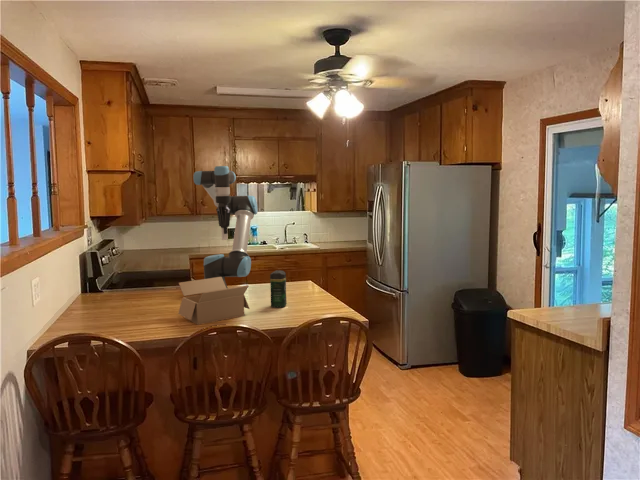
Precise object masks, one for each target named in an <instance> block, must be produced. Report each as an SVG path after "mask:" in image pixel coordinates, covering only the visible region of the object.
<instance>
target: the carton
mask: <svg viewBox="0 0 640 480" xmlns="http://www.w3.org/2000/svg"><path fill="white" fill-rule="evenodd" d="M201 296H202V294H196V295H190V296H183V297H182V299H181V301H180V306H179V309H178V313H177V314H178V315H180V316H182V317H184V318H185V320H188V321H190V322H192V323H194V324H196V325H198V326H199V325H203V324H208V323H214V322H218V321H224V320H228V319H235V318H238V317H244V316H245V309H248V310H250V306H249V304H248V300H247V298H246V295H245V294H244V295H242V296H237V297H231V298H225V299H219V300H213V301H207V302H201V303H199V300H200V298H201Z"/></svg>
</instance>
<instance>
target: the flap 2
mask: <svg viewBox="0 0 640 480" xmlns="http://www.w3.org/2000/svg"><path fill="white" fill-rule="evenodd" d="M248 288H249V285H248V284H246V285H239V286H233V287H227V288H226V289H220V290H214V291H207V292H203V293H202V294H201V295H202V296H201V298H200V300H199V303H201V302H207V301H213V300H219V299H225V298H231V297H237V296H242V295H244V296H245V293H246V292H247V290H248Z"/></svg>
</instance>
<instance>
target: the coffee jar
mask: <svg viewBox="0 0 640 480" xmlns="http://www.w3.org/2000/svg"><path fill="white" fill-rule="evenodd" d="M286 273H287V272H286V271H284V270H280V269H278V270H274V271H273V272H271V273H270V275H269V281H270V283H269V285H270V306H271V308H277V309H279V308H284V307H286V305H287V304H288V303H287V302H288V301H287V276H286V275H287V274H286Z"/></svg>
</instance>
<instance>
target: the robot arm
mask: <svg viewBox="0 0 640 480" xmlns="http://www.w3.org/2000/svg"><path fill="white" fill-rule="evenodd" d="M213 169H214V170H199V171H195V172H194V173H193V175H192V177H193V183H194V184H195V185H196V186H202V187H203V189H204V190H205V191H206V192H207V195H209V197H210V198H211V200H212V201H213V204H214V206H215V207H216V210H215V211H216V213H217V220H218V226H219V227H220V228H221V230H220V231H221V240H222V241H227V240H229V238H228V237H229V234H228V227H230V220H231V215H233V216H235V217H236V222H235V227H234V233H233V234H234V236H233V241H232V242H233V243H232V249H231V251H229V252H228V256H225V255H224V253H220V254H213V255H209V256H205V257H204V258H203V276H204V278H203V279H209V278H216V277H222V279H223V281H224V283H225V286H226V288H228V286H227V283H226V278H242V277H244V278H245V277H247V276H249V274H250V272H251V267H252V258H251V257H250V254H248V252H247V251H248V246H249V245H248V244H249V236H250V228H251V221H252V220H253V219H254V217H255V215H258V203H257V198H256V196H254V195H231V190H230V189H231V188H230V185H232V184H233V183H235V181H236V179H237V176H236V174H235V172H234V171H232V170H230V167H229V166H228V165H217V166H214V168H213Z"/></svg>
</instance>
